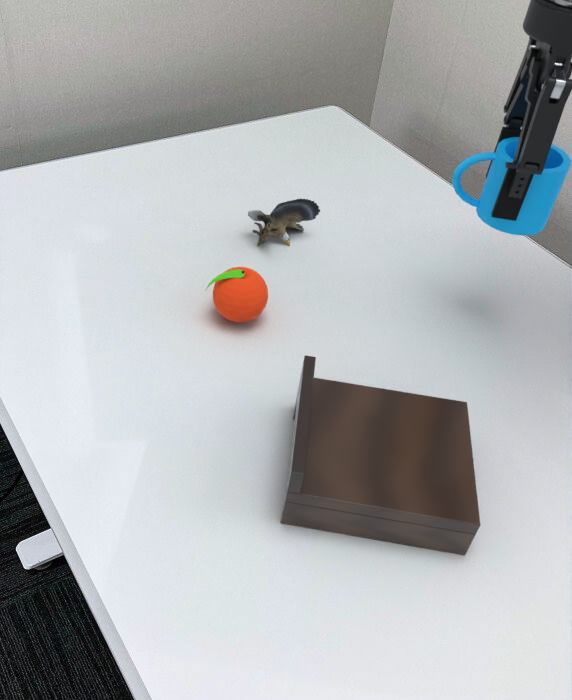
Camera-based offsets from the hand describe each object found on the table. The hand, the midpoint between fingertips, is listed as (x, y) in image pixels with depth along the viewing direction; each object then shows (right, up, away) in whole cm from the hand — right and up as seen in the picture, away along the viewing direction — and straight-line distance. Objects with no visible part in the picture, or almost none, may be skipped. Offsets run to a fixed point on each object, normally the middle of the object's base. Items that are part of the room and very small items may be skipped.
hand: (500, 197), depth 91 cm
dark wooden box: (-17, -31, -10) cm, 37 cm away
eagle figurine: (-24, -2, +21) cm, 32 cm away
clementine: (-31, -14, +7) cm, 35 cm away
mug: (0, -2, +2) cm, 2 cm away
